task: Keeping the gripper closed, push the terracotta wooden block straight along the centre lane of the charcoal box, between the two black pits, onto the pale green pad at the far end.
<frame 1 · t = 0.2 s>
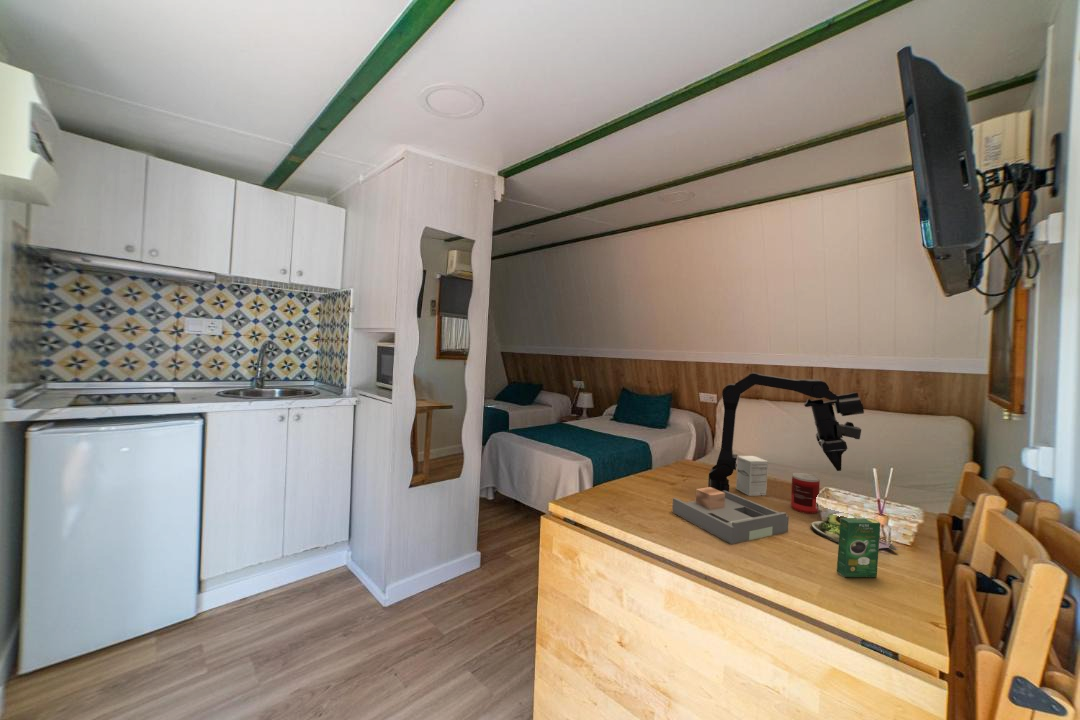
hand: (836, 467, 135), 15 cm above the table, tool pointing down, fingers open, 9 cm apart
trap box: (727, 521, 128), on the table
canned food: (804, 509, 140), on the table
coffee box: (856, 575, 99), on the table
salad plate: (849, 537, 120), on the table
block: (709, 505, 134), point 2 cm above the table, touching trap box
supplement box: (750, 492, 155), on the table
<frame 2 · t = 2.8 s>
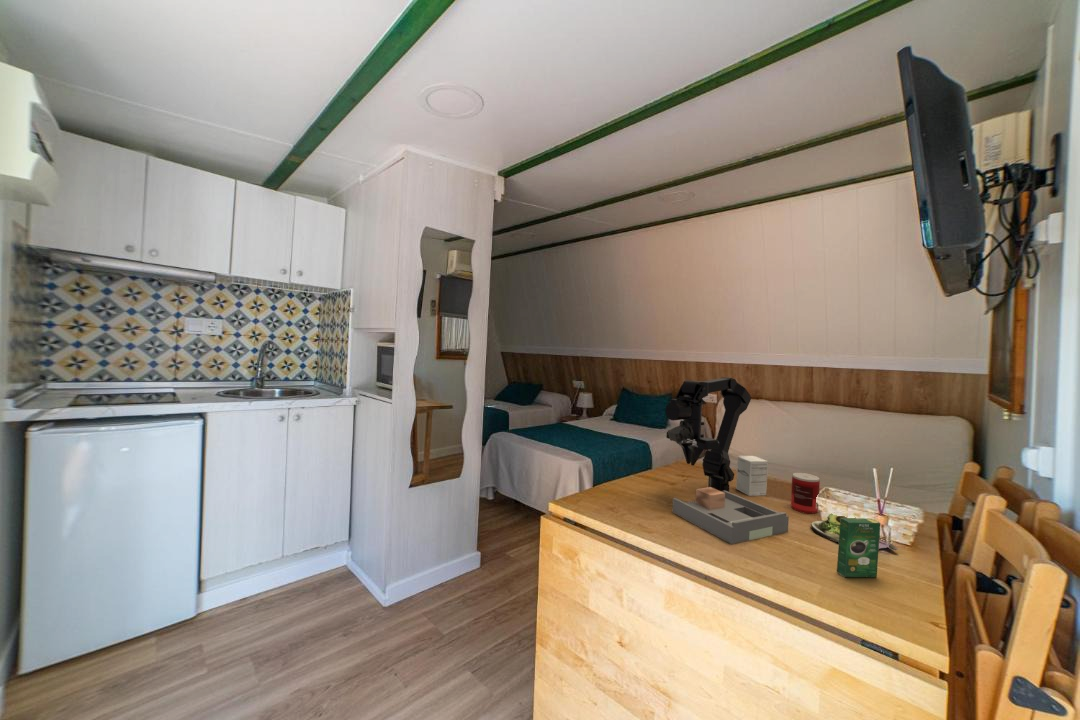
hand: (690, 464, 142), 13 cm above the table, tool pointing down, fingers closed
nothing on the table moved.
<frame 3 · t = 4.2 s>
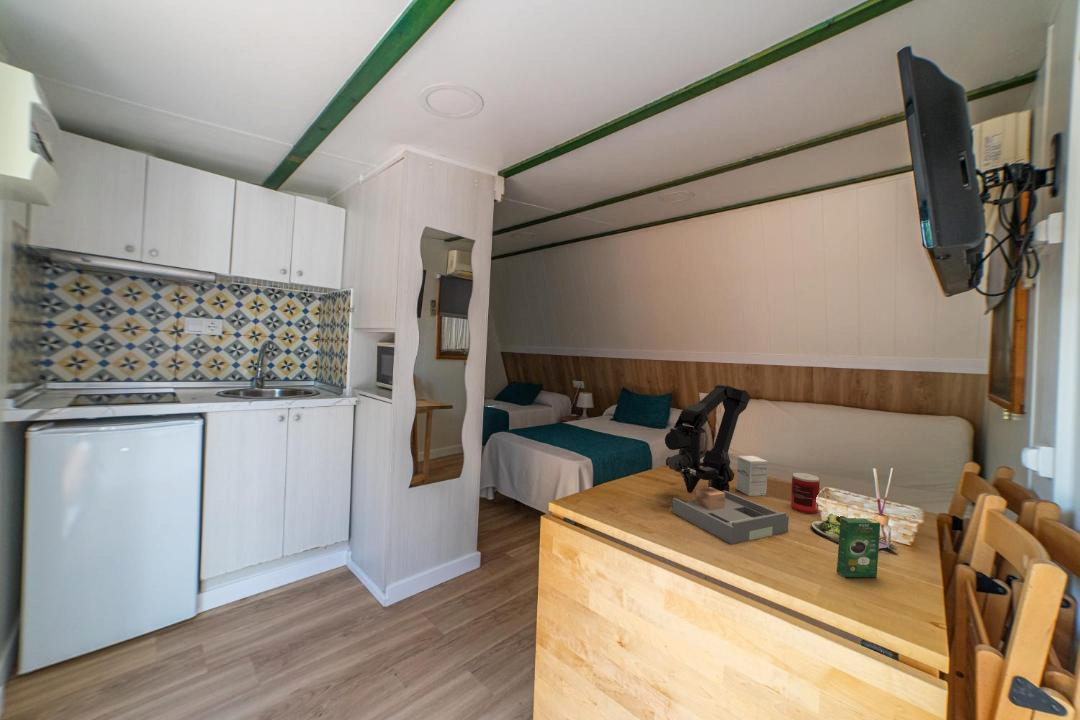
hand: (689, 492, 142), 4 cm above the table, tool pointing down, fingers closed
nothing on the table moved.
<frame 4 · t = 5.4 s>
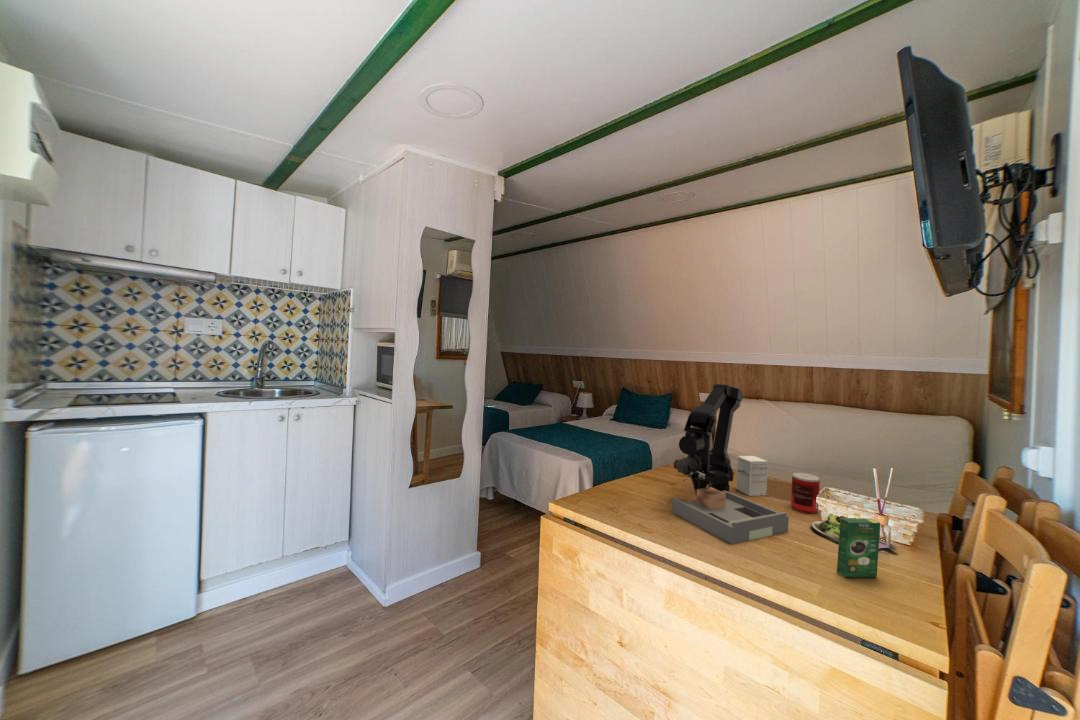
hand: (698, 496, 139), 4 cm above the table, tool pointing down, fingers closed
block: (710, 505, 134), point 3 cm above the table, touching gripper
everything else where it was.
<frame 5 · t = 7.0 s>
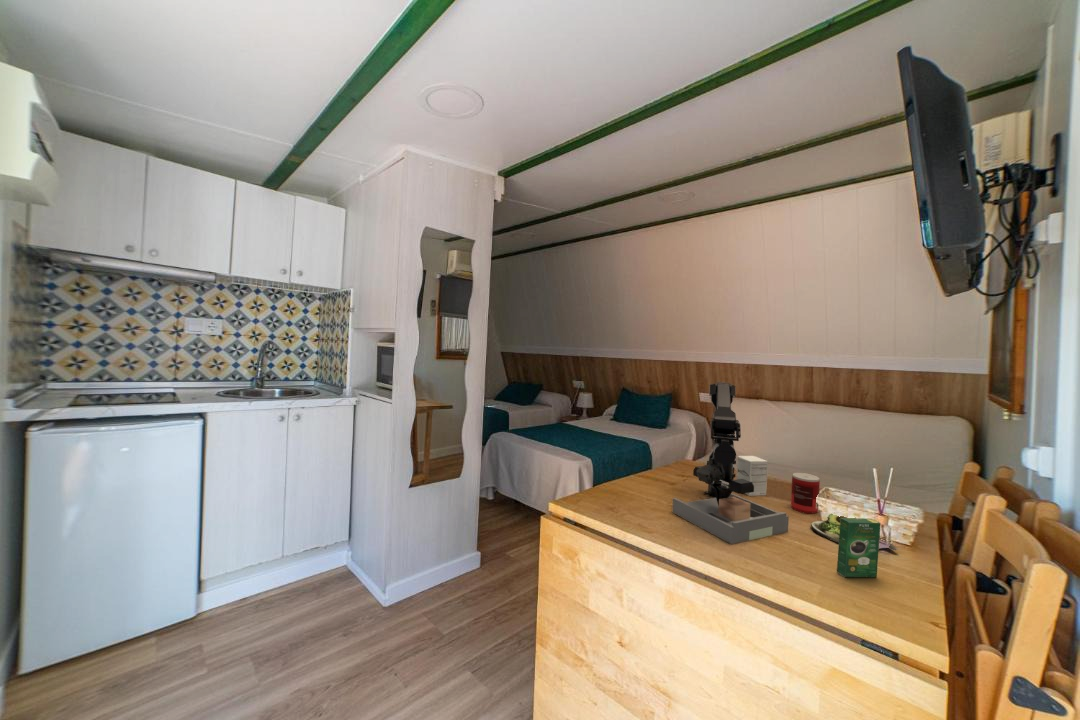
hand: (720, 506, 130), 4 cm above the table, tool pointing down, fingers closed
block: (733, 516, 126), point 3 cm above the table, touching gripper
everything else where it was.
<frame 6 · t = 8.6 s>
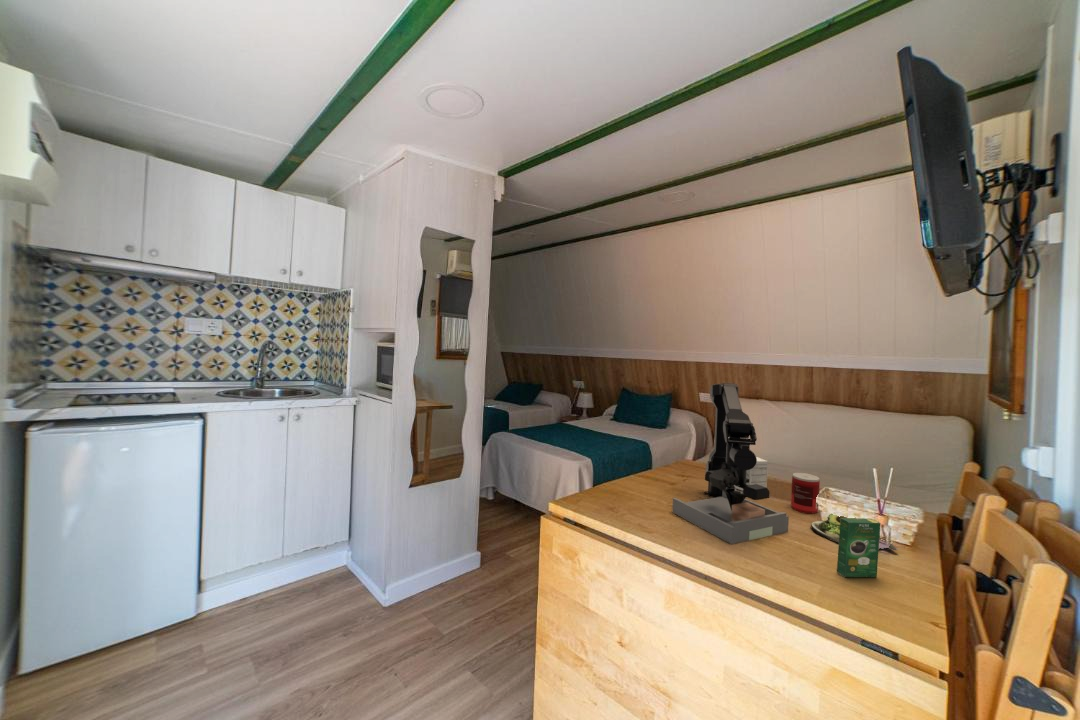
hand: (734, 512, 126), 4 cm above the table, tool pointing down, fingers closed
block: (747, 522, 121), point 2 cm above the table, touching gripper, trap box
everything else where it was.
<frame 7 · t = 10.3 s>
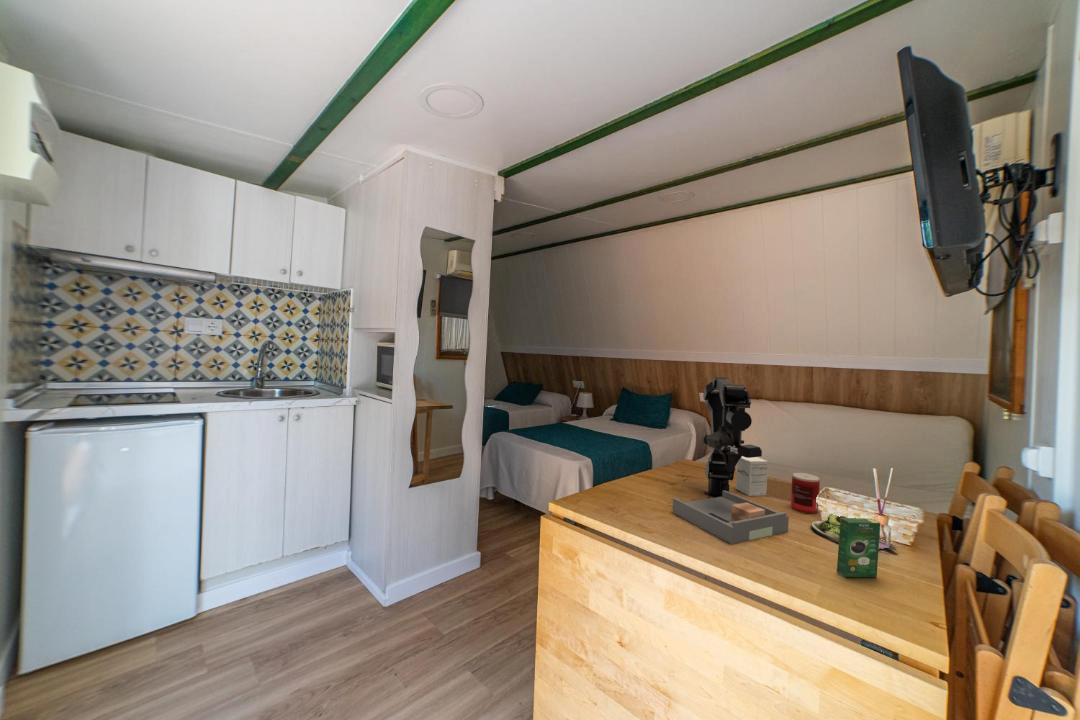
hand: (729, 471, 136), 13 cm above the table, tool pointing down, fingers closed
block: (747, 522, 121), point 2 cm above the table, touching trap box
everything else where it was.
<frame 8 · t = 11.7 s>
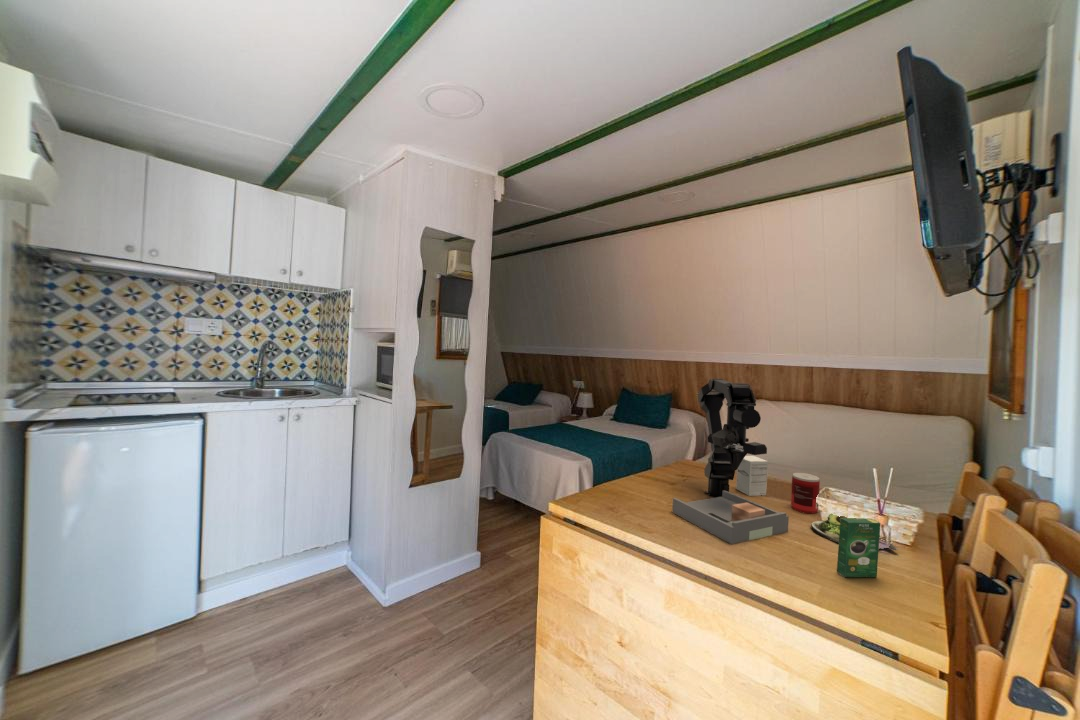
hand: (734, 469, 137), 13 cm above the table, tool pointing down, fingers closed
nothing on the table moved.
at the end: block 0.2 cm from the target spot on the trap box, point 2.5 cm above the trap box's base; block tilted 0° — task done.
